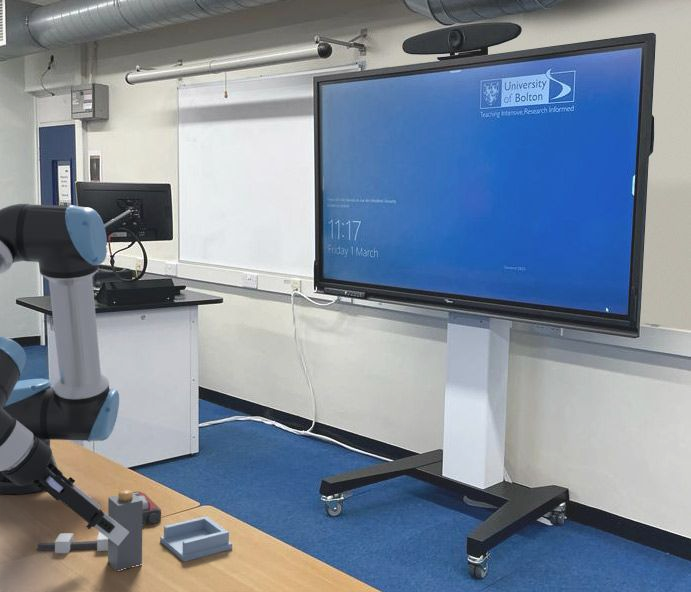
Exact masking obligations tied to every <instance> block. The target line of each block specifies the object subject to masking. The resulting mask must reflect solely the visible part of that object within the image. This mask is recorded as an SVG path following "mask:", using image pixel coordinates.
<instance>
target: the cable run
mask: <svg viewBox="0 0 691 592" xmlns="http://www.w3.org/2000/svg"><path fill="white" fill-rule="evenodd" d="M74 535H75V534H74V533H71V532H69V533H67V532H66V533H64V532H63V533H62V532H61V533H59V534H58V536H57V538H56V539H55V541H54V542H38V543H37V544H36V545H37V546H36V551H54V553H55V554H69V553H70V551H71V550H86V549H88V550H89V549H96V551H97V552H102V551H103V552H105V551H106V552H108V538H107V537H106V536H105V535H103V534H102V533H101V532H99V531H98V535H97V539H96V540H87V541H74Z"/></svg>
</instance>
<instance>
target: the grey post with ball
mask: <svg viewBox="0 0 691 592" xmlns="http://www.w3.org/2000/svg"><path fill="white" fill-rule="evenodd" d="M133 492H134V491H133V490H130V489H124V490H120V491H118V494H117V495H114V496H109V497H107V498H108V499H107V500H108V505H107V507H108V508H107V515H108V516H110V517H111V518H112V519H113V520H115V521H116V522H117V523H119V524H120V525H121V526H122V527H124V528H125V529H126V530H127V531H129V534H128V535H127V536H126V537H125V538H124V540H123V541H122V542H121V543H120V544H119V546H118V545H116V544H115V543H114V542H113V541H111V540H110V539H109V538H108V551H107V562H109V563H110V564H111V565H112V566H113V567H114V568H115V569H116V570H117V571H118V570H121V569H124V568H129V567H132V566H136V565H140V564H142V565H143V525H142V516H143V500H141V499H140V498H139V497H138V496H136V495H135V494H134V493H133ZM110 564H109V565H110ZM111 565H110V566H111ZM112 566H111V567H112ZM113 567H112V568H113ZM114 568H113V569H114ZM115 569H114V570H115ZM116 570H115V571H116ZM117 571H116V572H117ZM118 572H119V571H118Z"/></svg>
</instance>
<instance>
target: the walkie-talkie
mask: <svg viewBox="0 0 691 592" xmlns="http://www.w3.org/2000/svg"><path fill="white" fill-rule="evenodd" d="M132 492H133V493H134V494H135V495H136V496H138V497H139V498H140V499H141V500H143V516H142V526H143V525H144V526H145V525H147V524H148V525H149V524H152V525H153V524H156V523H158V522H161V521H162V509H161V508H160V507H159V506H158V505H157V504H156V503H155V502H154V501H152V499H151V498H149V496H148V495H147V494H146V493H145V492H141V491H132Z"/></svg>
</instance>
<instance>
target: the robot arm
mask: <svg viewBox="0 0 691 592" xmlns="http://www.w3.org/2000/svg"><path fill="white" fill-rule="evenodd" d="M106 231H107V230H106V227H105V224H104V222H103V219H102V217H101V215H99V213H98V212H97V210H95V209H93V208H91V207H85V206H77V205H74V204H71V205H63V204H62V205H59V204H29V203H17V204H12V205H8V206H6V207H3V208H0V275H1V274H3V273H6V272H8V271H9V270H10V269H11V267H12V265H13V264H14V263H17V262H33V263H38V268H39V273H40V275H41V276H42V277H43V278H45V279H46V280H47V281H48V285H49V294H50V296H49V297H50V301H51V302H50V303H51V310H52V312H51V313H52V320H53V321H52V322H53V330H54V338H55V346H56V347H55V348H56V349H55V350H56V356H57V357H56V358H57V365H58V367H57V368H58V375H59V379H58V380H57V381H55V383H54V385H53V387H51V386H52V383H51V381H50V379H48V378H32V379H31V378H30V379H23V380H20V379H21V377H22V373H23V370H24V368H25V365H26V362H27V354H26V352H25V350H24V348H23V347H22V346H21V345H20V344H19V343H18V342H16V341H15V340H13V339H11V338H8V337H6V336H5V337H4V336H0V494H2V495H3V494H4V495H24V494H31V493H36V492H40V491H41V492H45V493H47V494H48V495H50V496H51V497H52V498H54V499H55V500H56V501H59V502H62V503H63V504H64V505H66V507H68V508H70V509H71V510H72V511H73V512H74V513H75V514H77V515H78V516H79V517H80V518H82V519H83V520H84V521H86V523H88V524H86V526H85V528H86V529H88V530H90V529H91V528H94V529H96V530H97V531H98V533H99V532H101V533H102V534H103V535H105V536H106V537H107V538H109V539H110V540H111V541H113V542H114V543H115V544H116V545H118V546H119V544H120V543H121V542H122V541H123V540H124V538H125V537H126V536H127V535H128V534H129V531H127V530H126V529H125V528H124V527H122V526H121V525H120V524H119V523H117V522H116V521H115V520H113V519H112V518H111V517H110V516H108V513H106V512H105V511H103V510H102V509H100V508H101V505H100V504H99V503H98V502H97V501H96V500H94V499H93V498H92V497H90V496H89V495H88V494H87V493H85V492H84V491H83V490H81V489H80V488H79V487H78V486H76V485H75V484H74V483H75V482H76V480H74V478H73V477H71V476H70V477H69V478H67V477H66V476H65V475H64V474H63V472H62V471H61V470H59V468H58V465H57V462H56V459H55V456H54V455H53V451H52V448H51V440H52V441H53V440H54V441H59V440H60V441H80V442H82V441H86V442H89V443H90V442H103V441H106V440H107V439H109V437H110V436H111V435H112V433H113V431H114V428H115V427H116V422H117V418H118V413H119V406H120V393H119V391H118V390H117V389H114V388H110V383H109V379H108V377H107V376H106V375H104V374H102V373H101V364H100V362H101V361H100V351H99V340H98V339H99V338H98V328H97V315H96V306H95V305H96V303H95V294H94V283H93V277H94V275H96V273H97V272H98V271H99V270H100V265H101V264H103V263H104V262H105V260H106V257H107V251H108V248H107V245H108V238H107V232H106Z"/></svg>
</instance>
